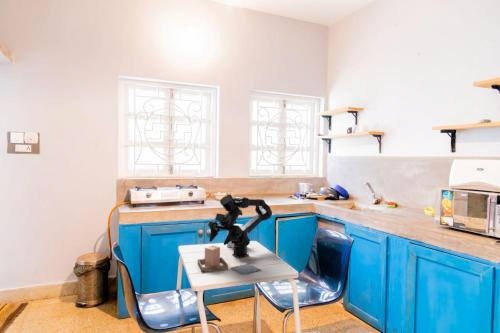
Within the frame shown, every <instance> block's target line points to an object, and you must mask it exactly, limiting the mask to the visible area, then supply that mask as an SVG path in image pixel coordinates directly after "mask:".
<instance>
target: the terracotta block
mask: <svg viewBox="0 0 500 333" xmlns="http://www.w3.org/2000/svg"><path fill="white" fill-rule="evenodd" d="M220 257H221V246H215V245H210V246H206V247H204V259H205V263H204V267H209V266H220V265H221V262H220Z"/></svg>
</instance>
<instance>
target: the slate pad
mask: <svg viewBox="0 0 500 333" xmlns="http://www.w3.org/2000/svg"><path fill="white" fill-rule="evenodd" d="M230 270H232V271H234V272H236V273H238V274H240V275H243V276H247V275H250V274H253V273H256V272H260V271H262V269H261V268H260V267H257V266H254V265H253V264H250V263H244V264H243V263H242V264H240V265H236V266H232V267H230Z"/></svg>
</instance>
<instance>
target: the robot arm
mask: <svg viewBox="0 0 500 333" xmlns="http://www.w3.org/2000/svg"><path fill="white" fill-rule="evenodd" d="M219 203H220V205H221V206H222V208H223V209H224V210H225V211H226V212H227V213H225V214H224V213H216V215H215V218H214V220H215V221H213V220H211V221H209V222H208V223H207V226H208V228H209V229H210V235H209V240H208V241H209V242H210V243H212V241H213V240H215V238H216V237H217V236H218V235H219V232H220V231H221V230H223V231H226V232H227V231H229V233H228V236H227V235H226V238H225V239H224V241H223V245H224V246H227V243H229V242H230V241H231V242H232V243H234V248H233V253H232V254H231V255H232V256H235V257H237V258H244V257H248V256H250V255H249V254H248V246H249V245H250V243H251V238H249V234H250V233H251V232H252V231H253V230H254V229H255V228H256V227H257V226H258V225H260V224H261V223H262V222H264V221H268V220H270V219H271V217H272V216H273V212H272V209H271V206H270V205H268V204H267V203H266V202H265V200H264V199H262V198H256V199H254V198H250V199H249V198H248V197H245V196H237V195H236V196H234V197H232V195H231V194H226V195H225V196H223V197H222V198H221V199H220V201H219ZM248 207H255V208H254V209H255V215H254V216H253V217H252V218H251V219H249V220H248V221H247V222H246V223H245V224H243V225H244V226H243V227H242V226H238V225H234V224H238V221H237V220H238V218H239V216H243V211H242V209H246V208H248ZM217 221H218V222H217Z"/></svg>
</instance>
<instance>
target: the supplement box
mask: <svg viewBox="0 0 500 333" xmlns="http://www.w3.org/2000/svg"><path fill="white" fill-rule="evenodd" d="M234 225H238V226H242V227H243V226H244V225H245V224H243V223H242V224H241V223H236V224H234ZM228 233H229V231H226V237H227V236H228ZM226 247H227V248H232V249H234V243H232V242H231V241H230V242H229V243H227V244H226Z"/></svg>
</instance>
